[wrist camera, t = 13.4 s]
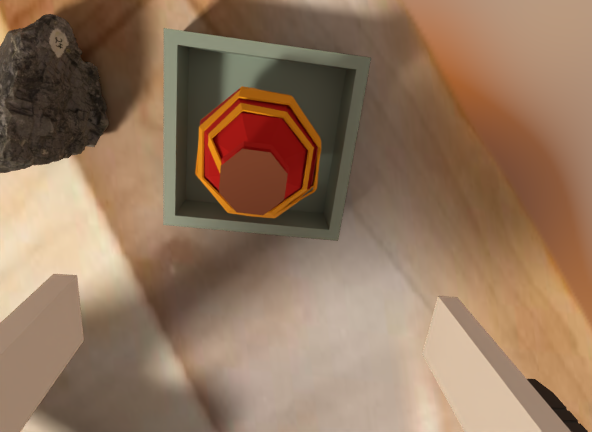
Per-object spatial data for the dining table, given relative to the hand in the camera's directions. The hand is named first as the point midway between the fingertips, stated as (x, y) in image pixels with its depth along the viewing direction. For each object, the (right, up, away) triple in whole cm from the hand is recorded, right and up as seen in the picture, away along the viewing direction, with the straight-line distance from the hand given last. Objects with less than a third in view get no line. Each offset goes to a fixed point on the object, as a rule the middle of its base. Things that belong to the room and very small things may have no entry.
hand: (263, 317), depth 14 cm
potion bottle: (-2, +11, +22) cm, 25 cm away
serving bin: (-2, +11, +22) cm, 25 cm away
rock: (-21, +15, +20) cm, 33 cm away
